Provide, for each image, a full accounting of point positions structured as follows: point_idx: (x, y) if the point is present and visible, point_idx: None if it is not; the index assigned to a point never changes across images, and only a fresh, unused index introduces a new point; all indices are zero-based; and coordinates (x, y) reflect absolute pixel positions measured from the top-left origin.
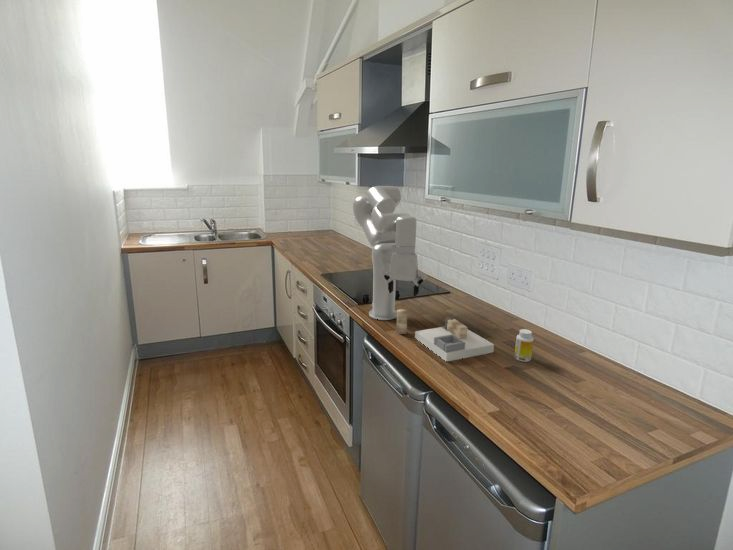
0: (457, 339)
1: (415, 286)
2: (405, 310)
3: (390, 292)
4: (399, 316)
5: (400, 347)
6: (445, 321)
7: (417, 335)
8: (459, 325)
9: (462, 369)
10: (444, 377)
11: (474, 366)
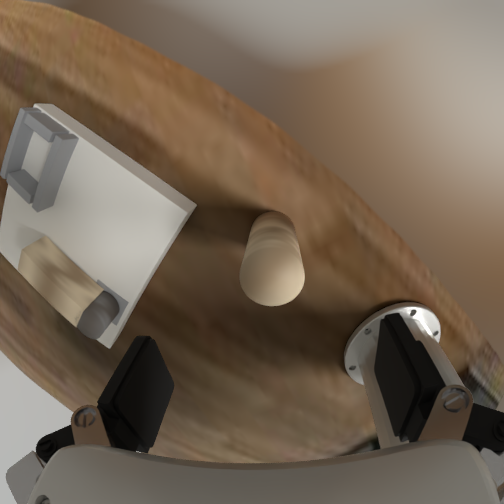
0: (15, 180)
1: (99, 399)
2: (259, 296)
3: (386, 318)
4: (276, 239)
5: (208, 93)
6: (100, 311)
7: (174, 197)
8: (34, 273)
9: (20, 99)
10: (42, 33)
11: (8, 135)
